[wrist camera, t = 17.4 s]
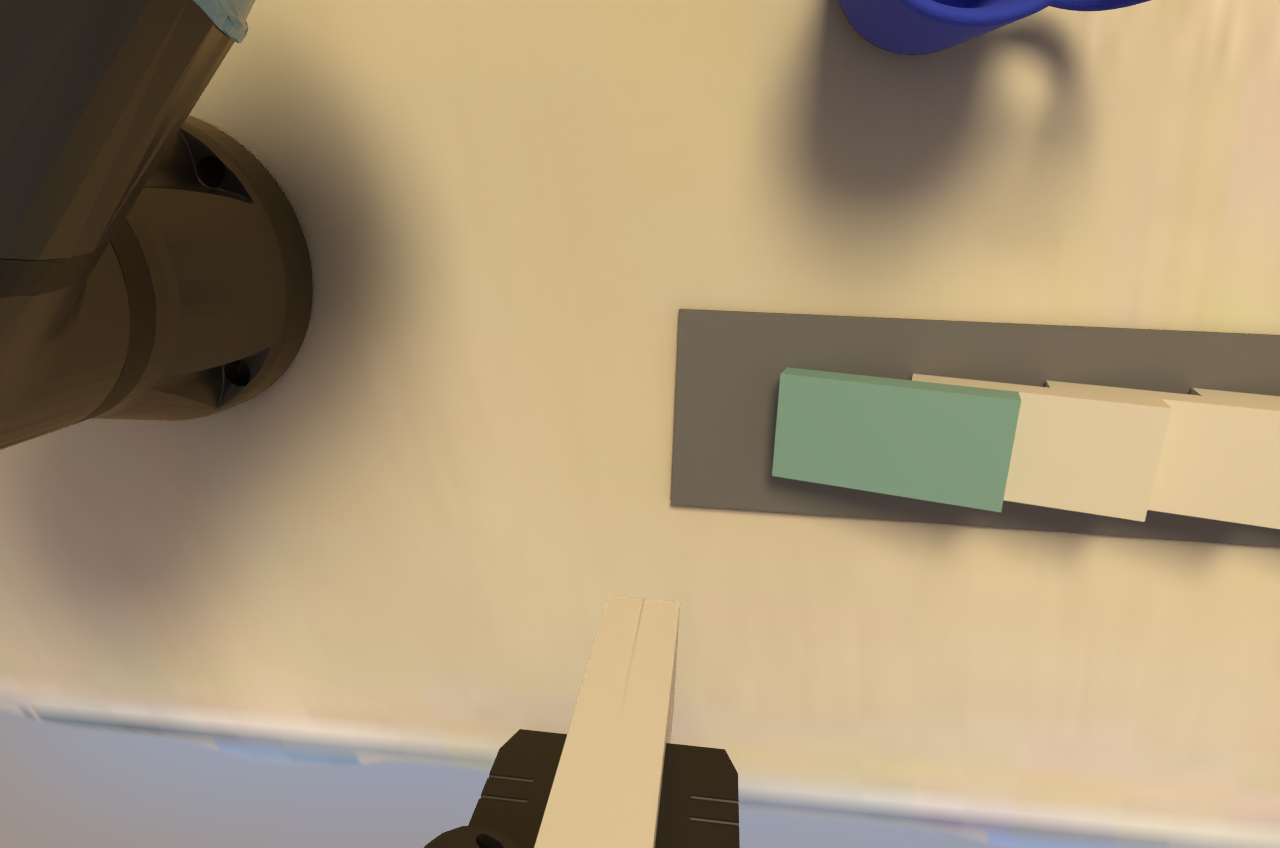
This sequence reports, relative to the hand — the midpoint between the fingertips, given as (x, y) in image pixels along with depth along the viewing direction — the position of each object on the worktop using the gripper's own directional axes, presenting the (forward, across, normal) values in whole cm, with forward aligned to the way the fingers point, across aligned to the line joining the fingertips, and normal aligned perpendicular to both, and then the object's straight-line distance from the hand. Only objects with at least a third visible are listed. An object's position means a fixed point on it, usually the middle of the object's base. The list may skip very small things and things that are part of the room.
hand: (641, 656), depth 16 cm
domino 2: (+21, +16, -1) cm, 27 cm away
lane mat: (+22, +16, -1) cm, 28 cm away
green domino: (+21, +4, -1) cm, 22 cm away
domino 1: (+21, +10, -1) cm, 24 cm away
